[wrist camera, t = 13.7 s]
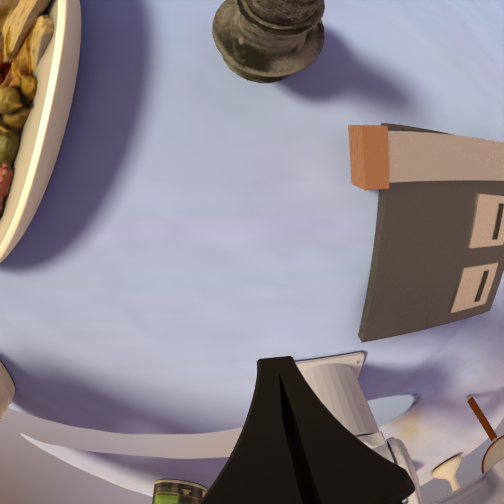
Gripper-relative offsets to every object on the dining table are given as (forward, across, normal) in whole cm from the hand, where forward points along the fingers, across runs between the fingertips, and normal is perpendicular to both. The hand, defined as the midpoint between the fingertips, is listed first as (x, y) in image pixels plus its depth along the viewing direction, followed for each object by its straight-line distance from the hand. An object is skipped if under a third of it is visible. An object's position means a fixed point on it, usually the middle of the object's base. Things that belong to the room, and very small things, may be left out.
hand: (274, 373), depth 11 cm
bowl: (+11, +25, -17) cm, 32 cm away
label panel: (+10, -18, -1) cm, 21 cm away
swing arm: (+8, -15, -8) cm, 19 cm away
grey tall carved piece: (+11, -1, -15) cm, 18 cm away
